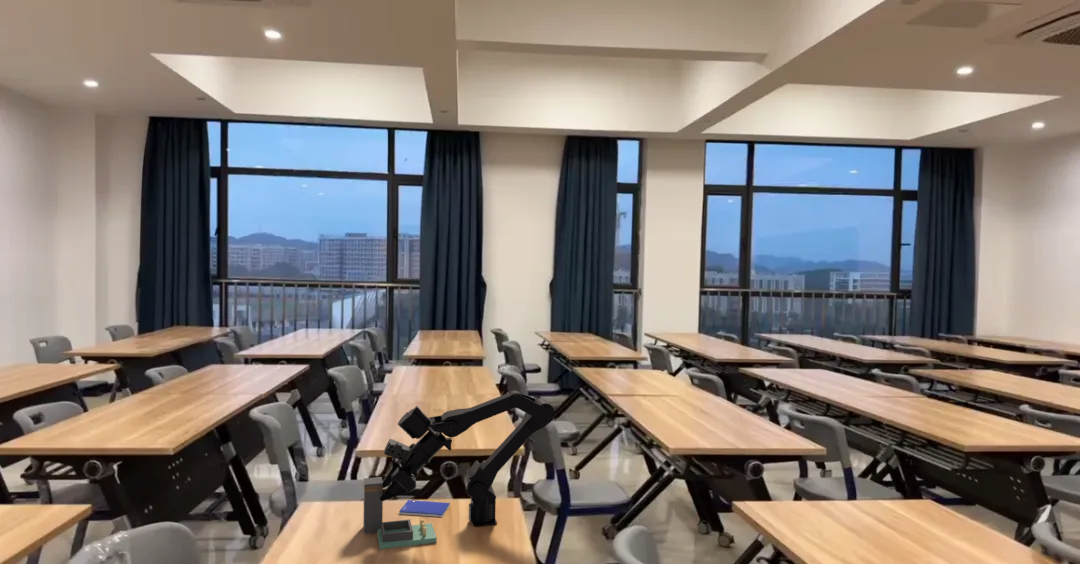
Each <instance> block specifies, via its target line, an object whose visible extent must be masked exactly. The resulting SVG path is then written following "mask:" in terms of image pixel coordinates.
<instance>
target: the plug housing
mask: <svg viewBox="0 0 1080 564" xmlns="http://www.w3.org/2000/svg"><path fill="white" fill-rule="evenodd" d="M382 477H383V476H377V477H366V478H363V519H362V520H363V527H362V528H363V535H368V534H377V529H381V522H383V510H384V509H383V503H384V501H381V500H380V497H381V495H382V494H383V492H384V490H383V489H384V488H383V478H382Z"/></svg>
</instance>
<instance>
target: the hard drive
mask: <svg viewBox="0 0 1080 564" xmlns="http://www.w3.org/2000/svg"><path fill="white" fill-rule="evenodd" d="M413 501H415V502H413ZM450 507H451V503H450V502H441V501H429V500H416V499H414V500H413V499H408V500H406V502H405V503H404V505H403V506H402V507H401V508H400V510H399V511H398V512H399V513H398V514H399V515H406V516H407V515H408V516H422V517H424V516H425V517H438V518H439V517H440V518H443V517H444V515H445V514H446V512H447V511H448V509H449V508H450Z"/></svg>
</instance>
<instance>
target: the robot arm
mask: <svg viewBox="0 0 1080 564" xmlns="http://www.w3.org/2000/svg"><path fill="white" fill-rule="evenodd" d="M512 409H518V410H520V411H522V412H524V415H523V418H522V419H521V422H520V423H519V424H518V425H517V426H516V427H515V429H513V431H512V432H510V434H509V435H508V436H507V437H506V438H505V439H504V440H503V442H502V443H501V444H500V445H499V446H498V447H497V448H496V449H495V450H494V451H493V453H491V454H490V456H489V457H488V458H487V459H486V460H484V461H483V462H479V461H478V460H475V461H474V463H473V464H472V465H471V467H470V468H468V469H466V474H465V476H464V485H465V489H466V491H467V494H468V495H469V496H470V503H469V504H468V519H469V521H470V523H471V525H472V526H473V527H482V526H491V525H498V521H497V519H496V502H497V501H496V500H497V495H496V493H495V491H494V488H493V486H492V485H493V483H494V481H495V479H496V477H497V474H498V472H499V471H500V470H501V469H503V467H504V466H505V465H506V464H507V462H508V461H510V459H512V457H513V456H514V455H515V454H516V453H517V451H519V450H520V448H522V446H523V445H524V444H525V443H526V442H527V441H528V440H529V438H530V437H531V436H532V435H534V434H535V433H536V432H538V431H540V430H543V429H544V428H545V427H547V426H548V425H550V423H552V422H553V420H554V419H555V418H556V417H555V416H556V415H555V413H556V411H555V409H554V407H553V406H552V404H551V403H549V402H548V400H546V399H545V398H534V397H533V396H530V395H526V394H524V393H521V392H519V391H518V390H511V391H509V392H507V393H505V394H503V395H500V396H497V397H495V398H492V399H490V400H487V401H484V402H482V403H479V404H477V405H474V406H472V407H467V408H456V409H453V410H448V411H445V412H443V413H442V414H441V415H440V414H439V415H436V416H435V415H434V416H430V417H428V416H427V415H426V414H425V413H424V412H423V411H422V409H421V408H420V407H419V406H418V405H416V406H414V408H412V409H410V410H409V411H408V412H405V414H404V415H403V416H402V417H401V418H400V419H399V421H398V422H397V425H398V427H400V428H401V429H402V430H403V431H404V432H405V433H406V434H407V435H408V436H409V437H410V438H411V439H412V440H414V439H416V440H418V441H417V442H416V443H411V444H410V445H409V446H408V445H406V444H405V443H403V442H399V441H398V440H395V439H392V438H389V439H388V441H387V443H386V445H385V447H384V449H383V450H384V452H383V454H384V455H385V456H387V457H392V461H391V462H392V465H391V468H390V469H389V471H388V473H387V474H386V476H385V477H384V479H383V480H382V482H383V489H385V488H386V489H385V490H383V494H382V495H381V497H380V500H381V501H383V502H384V501H387V500H390V499H392V498H394V497H398V496H401V495H403V494H408V493H413V491H414V490H415V489H416V488H417V479H416V478H417V477H418V476H419V472H420V471H421V470H422V469H423V468H424V466H425V465H426V466H428V465H429V464H430V461H431V459H433V458H434V457H435V456H436V455H437V453H439V451H440V450H442V449H443V448H444V447H445V448H446V449H447V450H448V451H452V442H453V439H452V438H455V437H456V438H457V437H458V436H459V435H461V434H463V433H464V432H466V431H467V430H469V428H471V427H472V426H473V425H476V424H477V423H479V422H482V421H485V420H487V419H490V418H491V417H495V416H497V415H500V414H503V413H506V412H507V411H510V410H512Z"/></svg>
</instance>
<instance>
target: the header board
mask: <svg viewBox="0 0 1080 564" xmlns="http://www.w3.org/2000/svg"><path fill="white" fill-rule="evenodd" d="M419 522H420V524H412V522H411V519H410V518H409V519H401V520H391V521H390V520H389V521H382V522H381V529H377V533H376V534H377V541H378V549H379V550H384V549H393V548H401V547H409V546H418V545H427V544H434V543H437V540H438V538H437V535H436V532H435V528H434V526H433V524H432V523H431V522H430V523H425V519H420V520H419Z"/></svg>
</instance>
